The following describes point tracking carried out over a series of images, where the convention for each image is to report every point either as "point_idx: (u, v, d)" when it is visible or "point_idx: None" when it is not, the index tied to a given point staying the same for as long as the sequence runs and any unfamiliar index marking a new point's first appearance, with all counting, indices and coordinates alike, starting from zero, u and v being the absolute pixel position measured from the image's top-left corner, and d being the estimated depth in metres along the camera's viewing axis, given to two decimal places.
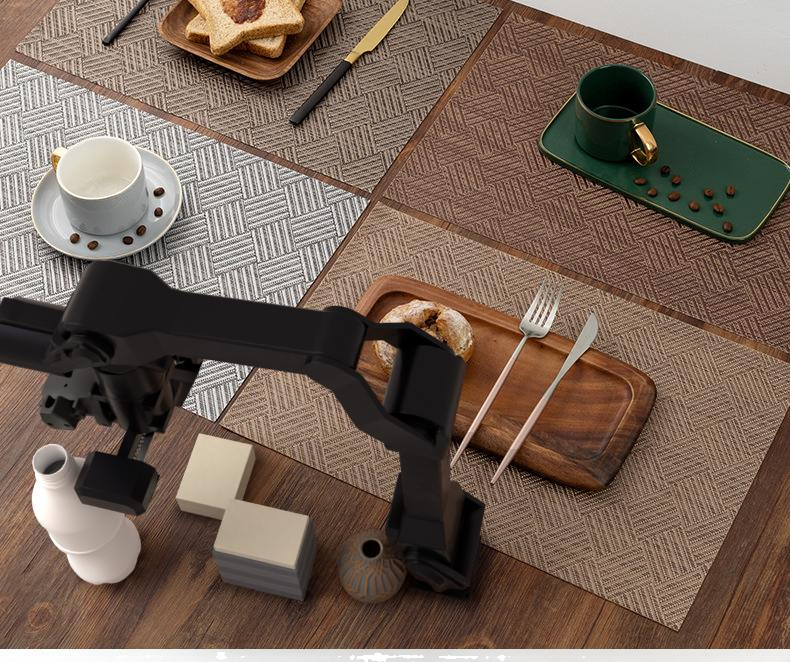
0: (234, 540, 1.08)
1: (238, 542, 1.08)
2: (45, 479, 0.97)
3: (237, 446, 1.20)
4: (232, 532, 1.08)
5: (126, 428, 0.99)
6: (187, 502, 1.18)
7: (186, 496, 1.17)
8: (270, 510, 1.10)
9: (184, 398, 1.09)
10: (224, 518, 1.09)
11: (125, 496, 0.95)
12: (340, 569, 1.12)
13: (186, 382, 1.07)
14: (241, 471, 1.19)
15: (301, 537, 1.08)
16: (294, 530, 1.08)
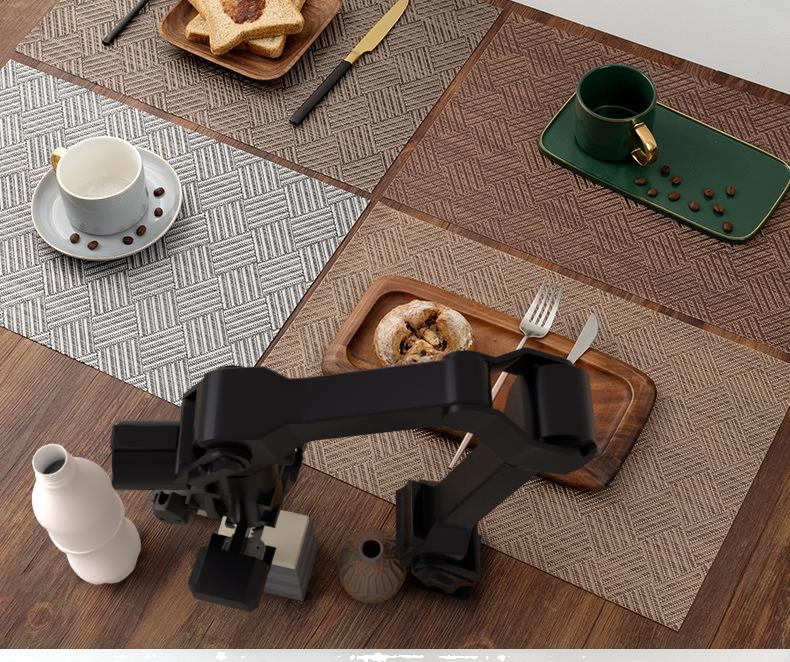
0: None
1: None
2: (45, 479, 0.97)
3: None
4: (232, 532, 1.08)
5: (237, 522, 0.99)
6: None
7: None
8: None
9: None
10: (224, 518, 1.09)
11: (240, 593, 0.96)
12: (340, 569, 1.12)
13: None
14: None
15: (301, 537, 1.08)
16: (294, 530, 1.08)
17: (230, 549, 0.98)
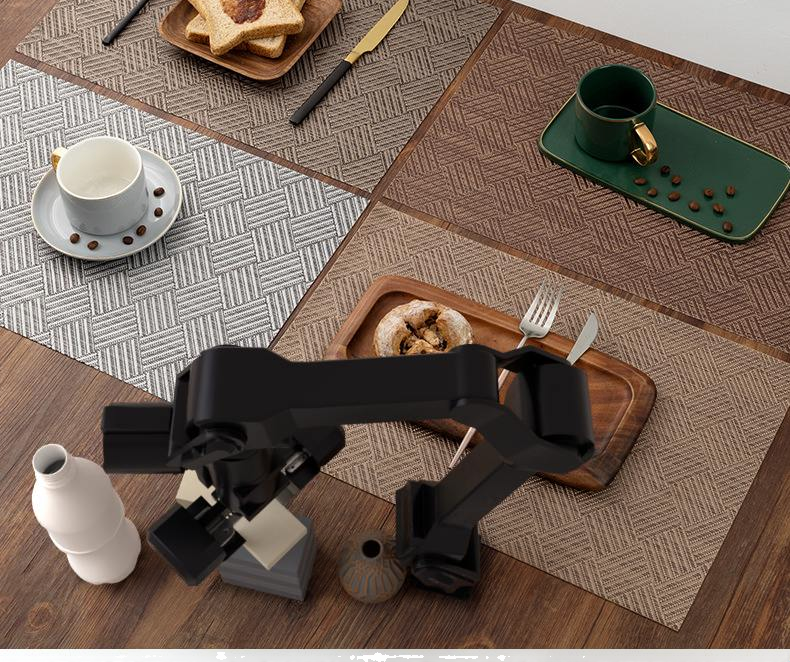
0: (230, 513, 1.06)
1: None
2: (45, 479, 0.97)
3: None
4: None
5: (219, 498, 0.97)
6: (187, 502, 1.18)
7: (186, 496, 1.17)
8: (277, 503, 1.06)
9: (284, 501, 1.05)
10: None
11: (182, 564, 0.94)
12: (340, 569, 1.12)
13: (289, 490, 1.03)
14: None
15: (288, 544, 1.04)
16: (286, 534, 1.05)
17: (200, 519, 0.96)
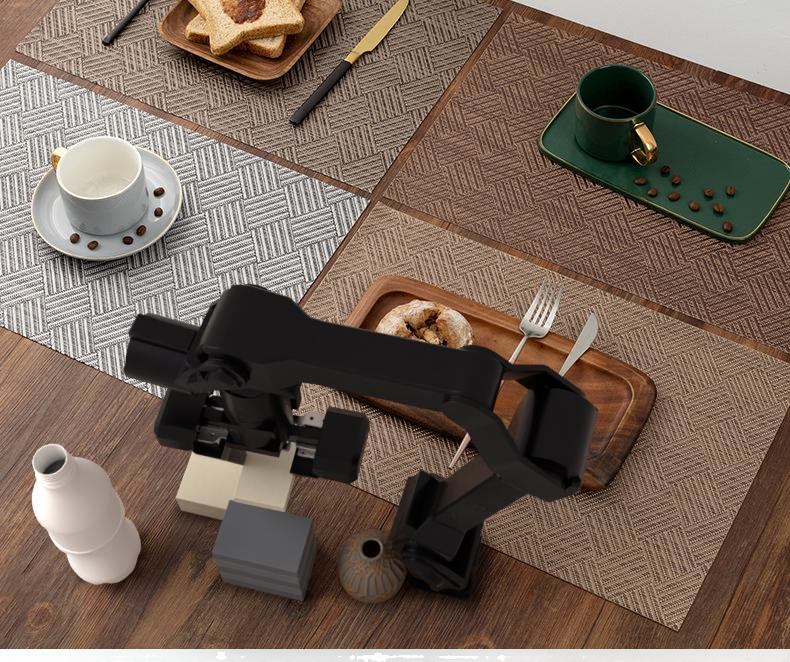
0: None
1: None
2: (45, 479, 0.97)
3: None
4: None
5: None
6: (187, 502, 1.18)
7: (186, 496, 1.17)
8: None
9: None
10: None
11: (160, 419, 1.01)
12: (340, 569, 1.12)
13: None
14: None
15: (261, 502, 1.07)
16: (269, 494, 1.07)
17: (207, 408, 1.02)
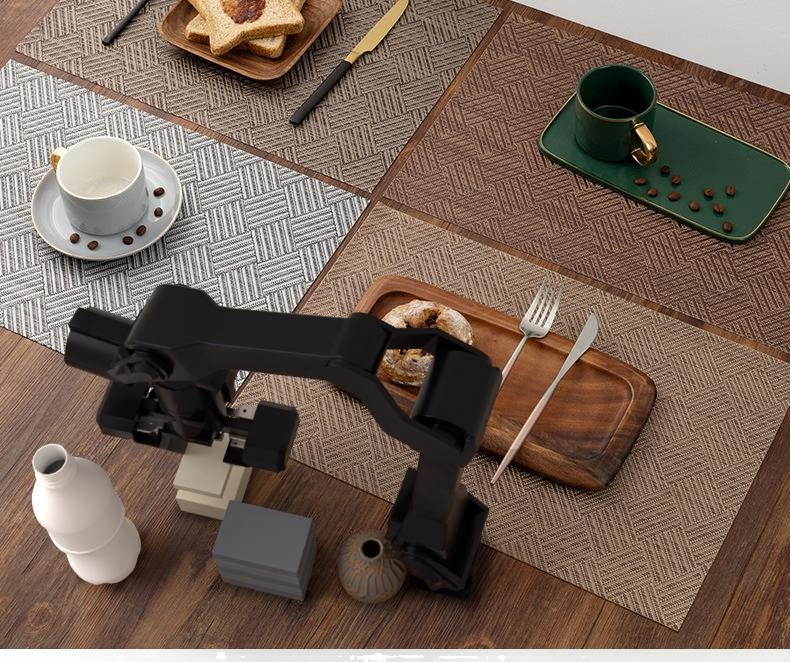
0: None
1: None
2: (45, 479, 0.97)
3: None
4: None
5: None
6: (187, 502, 1.18)
7: (186, 496, 1.17)
8: None
9: None
10: None
11: (102, 409, 1.07)
12: (340, 569, 1.12)
13: None
14: (241, 471, 1.19)
15: (199, 489, 1.13)
16: (206, 482, 1.13)
17: (147, 400, 1.09)
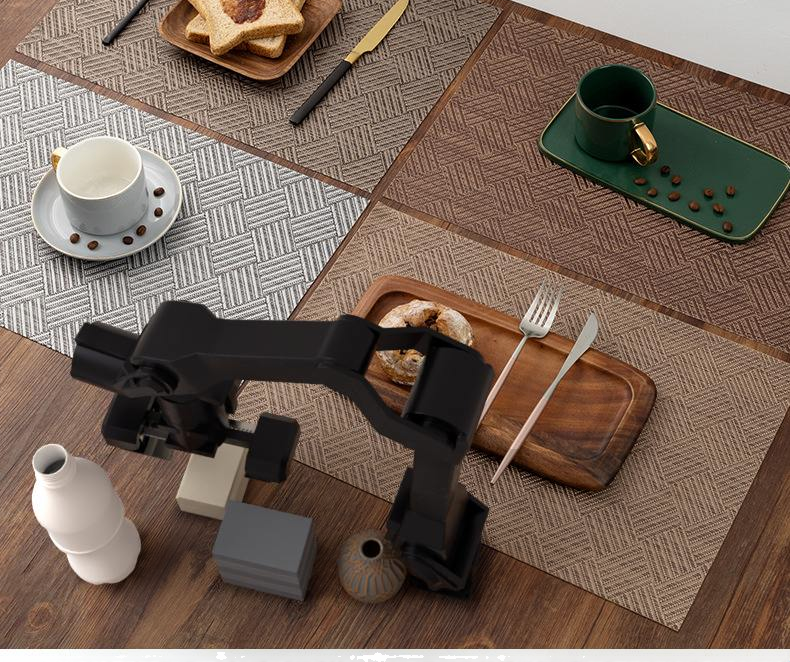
0: None
1: None
2: (45, 479, 0.97)
3: None
4: None
5: None
6: None
7: None
8: (233, 473, 1.17)
9: None
10: None
11: (107, 421, 1.10)
12: (340, 569, 1.12)
13: None
14: (241, 471, 1.19)
15: (204, 501, 1.16)
16: (211, 495, 1.16)
17: (151, 412, 1.11)
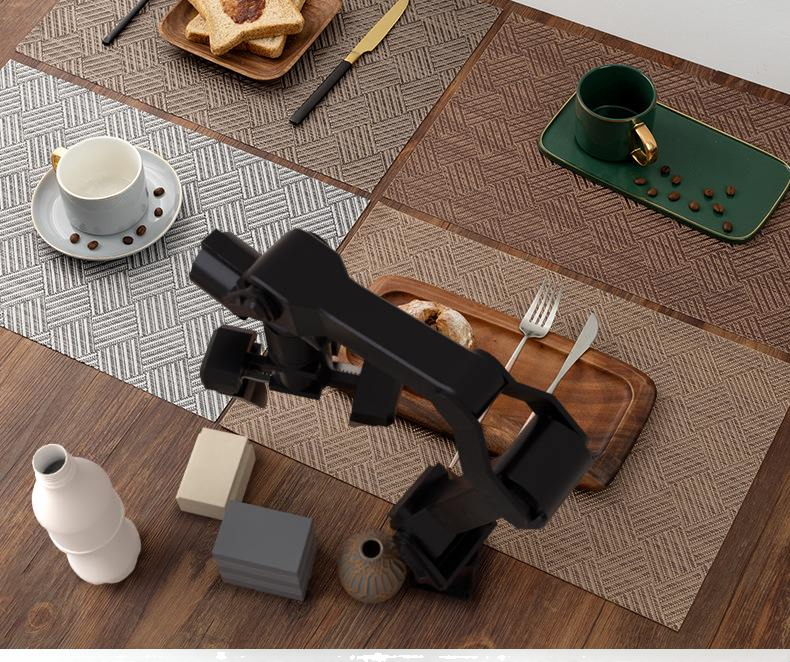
0: (206, 444, 1.19)
1: (204, 447, 1.19)
2: (45, 479, 0.97)
3: None
4: (214, 442, 1.19)
5: None
6: None
7: None
8: (233, 473, 1.17)
9: None
10: (228, 434, 1.20)
11: (206, 363, 1.05)
12: (340, 569, 1.12)
13: None
14: (241, 471, 1.19)
15: (204, 501, 1.16)
16: (211, 495, 1.16)
17: (250, 354, 1.06)
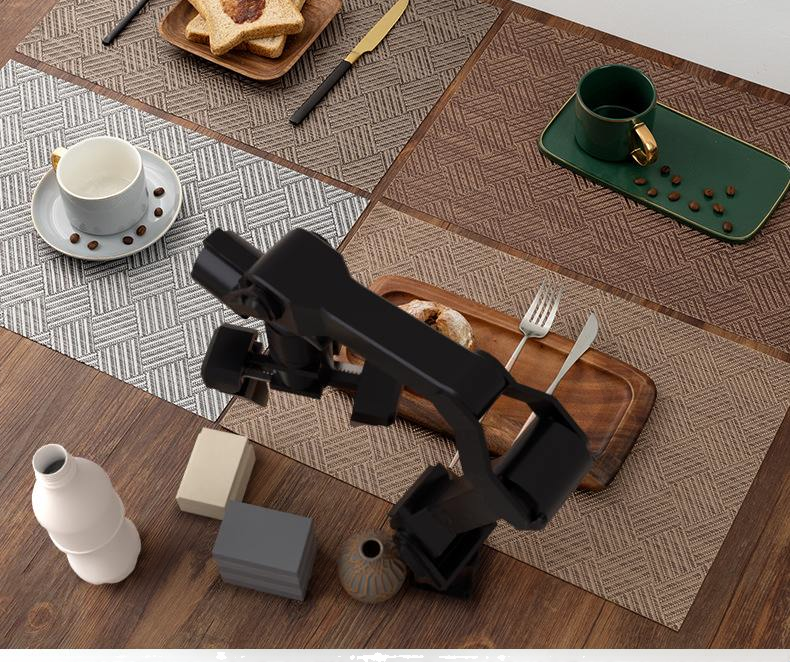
0: (206, 444, 1.19)
1: (204, 447, 1.19)
2: (45, 479, 0.97)
3: None
4: (214, 442, 1.19)
5: None
6: None
7: None
8: (233, 473, 1.17)
9: None
10: (228, 434, 1.20)
11: (207, 361, 1.05)
12: (340, 569, 1.12)
13: None
14: (241, 471, 1.19)
15: (204, 501, 1.16)
16: (211, 495, 1.16)
17: (252, 353, 1.06)
